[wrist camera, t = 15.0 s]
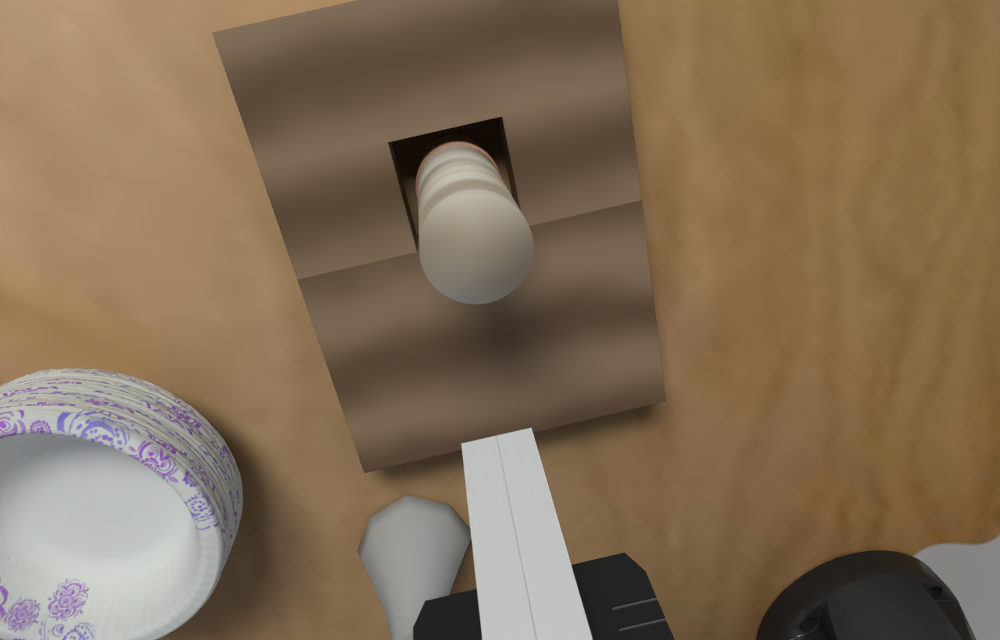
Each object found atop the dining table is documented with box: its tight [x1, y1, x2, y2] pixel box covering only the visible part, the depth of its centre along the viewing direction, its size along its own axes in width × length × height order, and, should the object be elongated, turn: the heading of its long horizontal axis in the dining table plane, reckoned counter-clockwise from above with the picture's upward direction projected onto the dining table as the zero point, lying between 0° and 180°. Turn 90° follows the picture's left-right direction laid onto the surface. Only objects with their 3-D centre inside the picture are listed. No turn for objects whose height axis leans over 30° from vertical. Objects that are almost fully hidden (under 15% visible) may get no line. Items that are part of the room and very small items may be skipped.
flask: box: [357, 495, 471, 640], centre depth 42 cm, size 7×7×10 cm
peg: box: [416, 135, 534, 304], centre depth 31 cm, size 4×4×14 cm
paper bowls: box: [0, 369, 243, 640], centre depth 38 cm, size 15×15×8 cm
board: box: [212, 0, 666, 473], centre depth 37 cm, size 24×18×3 cm
